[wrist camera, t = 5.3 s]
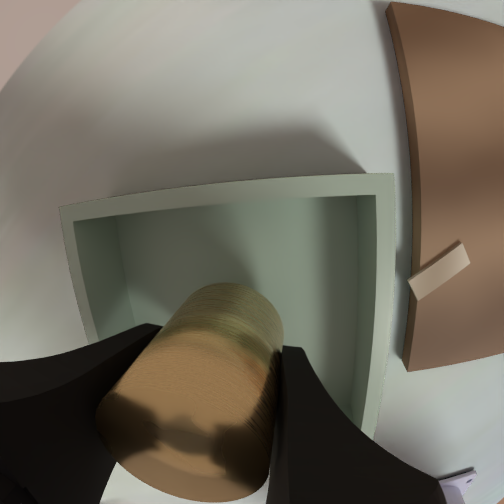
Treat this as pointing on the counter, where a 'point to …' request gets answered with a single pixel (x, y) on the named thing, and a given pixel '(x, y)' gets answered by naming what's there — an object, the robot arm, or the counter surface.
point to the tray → (252, 266)
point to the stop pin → (201, 398)
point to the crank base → (453, 183)
